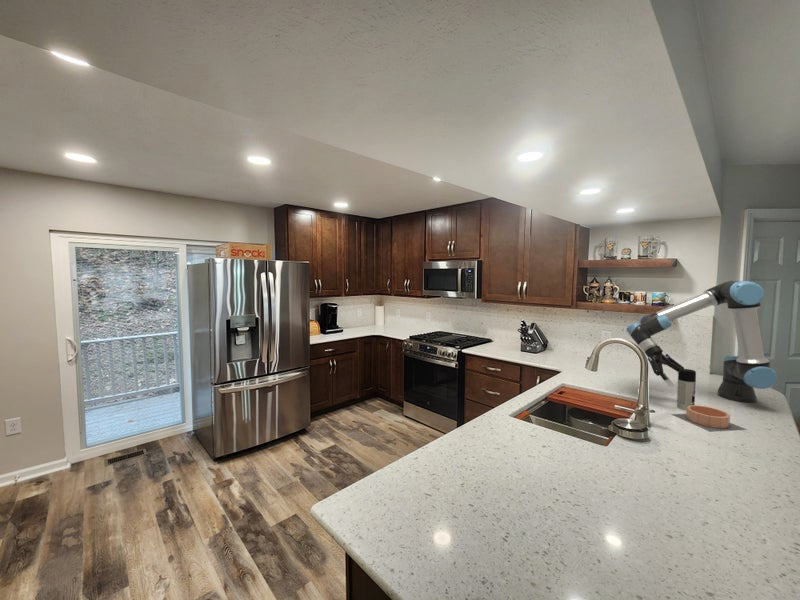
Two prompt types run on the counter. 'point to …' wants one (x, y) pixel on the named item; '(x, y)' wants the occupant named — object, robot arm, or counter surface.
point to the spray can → (686, 388)
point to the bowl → (708, 416)
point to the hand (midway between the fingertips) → (681, 384)
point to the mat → (710, 429)
